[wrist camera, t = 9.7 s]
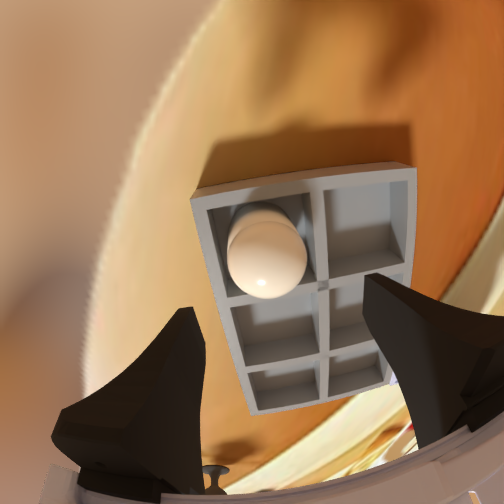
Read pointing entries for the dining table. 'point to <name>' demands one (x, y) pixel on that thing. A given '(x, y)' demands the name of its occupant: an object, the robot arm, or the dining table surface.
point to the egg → (265, 251)
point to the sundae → (215, 479)
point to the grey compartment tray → (313, 280)
